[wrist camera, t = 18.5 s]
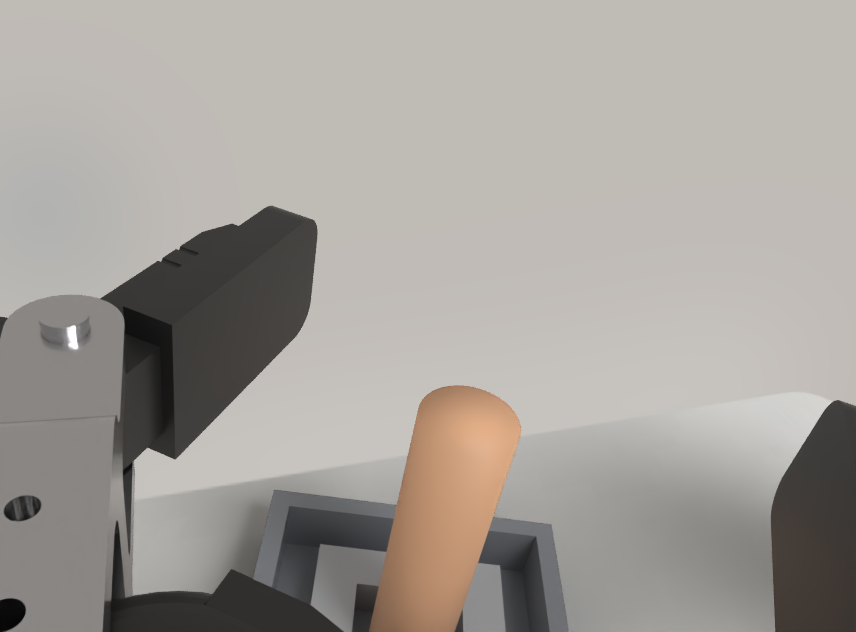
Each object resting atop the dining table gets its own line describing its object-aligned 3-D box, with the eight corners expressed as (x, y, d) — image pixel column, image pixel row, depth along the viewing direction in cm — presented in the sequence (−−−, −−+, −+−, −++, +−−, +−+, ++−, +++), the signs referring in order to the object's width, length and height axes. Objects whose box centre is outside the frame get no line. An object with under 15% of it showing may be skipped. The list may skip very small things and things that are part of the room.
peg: (439, 633, 40) (515, 393, 30) (440, 708, 36) (526, 464, 27) (365, 625, 39) (418, 379, 30) (359, 700, 36) (417, 450, 26)
